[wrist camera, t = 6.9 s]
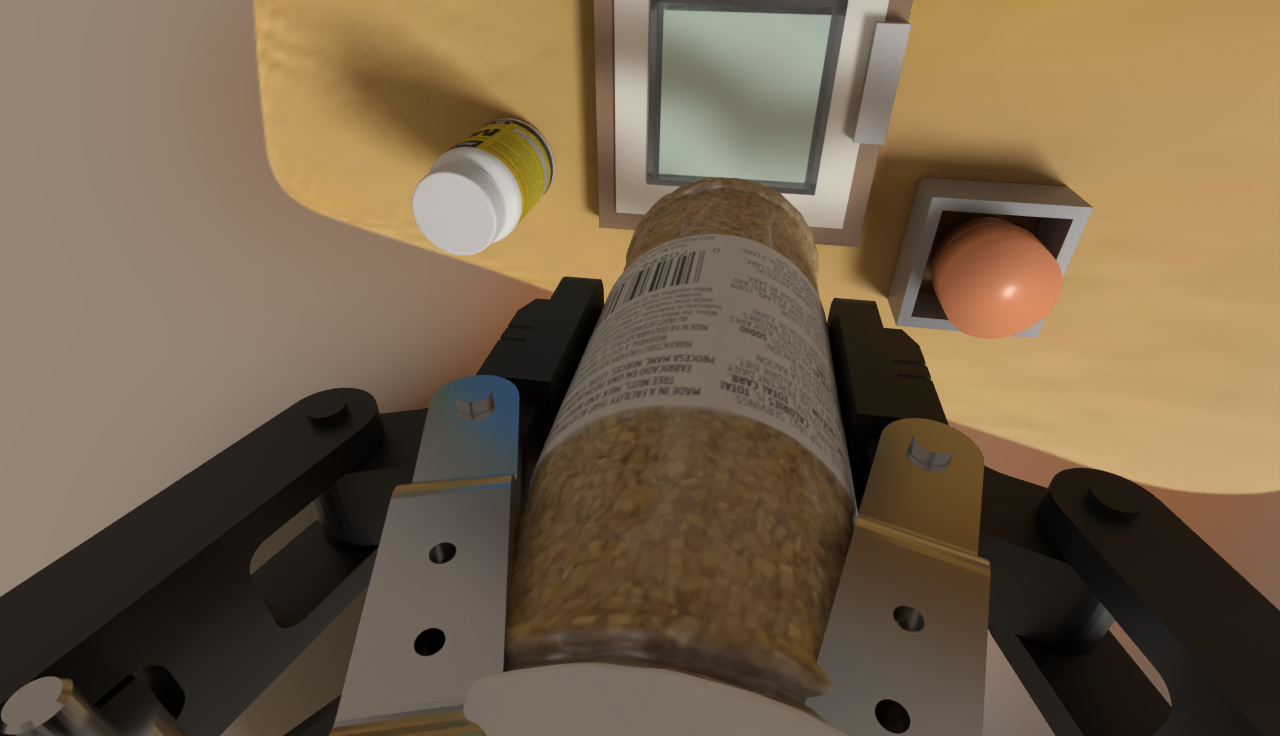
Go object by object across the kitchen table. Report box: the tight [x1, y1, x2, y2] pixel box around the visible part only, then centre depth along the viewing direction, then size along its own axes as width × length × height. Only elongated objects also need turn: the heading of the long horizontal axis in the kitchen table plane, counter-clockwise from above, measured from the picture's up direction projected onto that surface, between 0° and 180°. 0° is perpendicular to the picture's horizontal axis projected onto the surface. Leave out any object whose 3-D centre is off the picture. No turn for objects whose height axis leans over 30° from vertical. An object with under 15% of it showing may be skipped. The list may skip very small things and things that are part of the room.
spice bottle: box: [463, 177, 858, 736], centre depth 10 cm, size 5×5×13 cm
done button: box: [933, 217, 1062, 339], centre depth 31 cm, size 5×5×4 cm
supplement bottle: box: [412, 118, 555, 256], centre depth 32 cm, size 5×5×8 cm
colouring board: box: [594, 0, 913, 247], centre depth 30 cm, size 16×14×2 cm
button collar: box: [888, 177, 1093, 338], centre depth 32 cm, size 7×7×3 cm
